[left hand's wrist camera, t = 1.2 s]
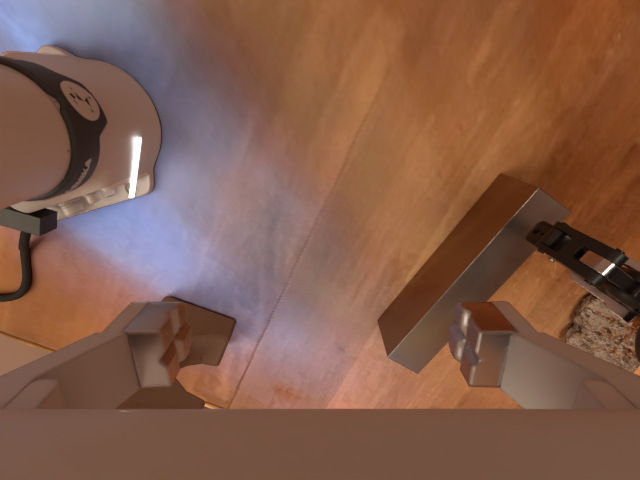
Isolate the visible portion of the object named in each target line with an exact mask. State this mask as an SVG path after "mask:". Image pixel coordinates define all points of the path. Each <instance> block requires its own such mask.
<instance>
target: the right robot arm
mask: <svg viewBox="0 0 640 480" xmlns="http://www.w3.org/2000/svg"><path fill="white" fill-rule="evenodd" d="M526 240H527V241H528V242H529V243H531V244H532V245H534V246H535V247H537V248H538V249H537V250H538V251H539V252H541V253H542V254H544V253H546V255H548V256H549V259H550V260H552V261H553V262H555V261H556V262H558V263H559V264H561V265H562V266H564V267H565V268H567V269H568V270H570V271H571V279H572V280H573V281H574V282H576V283H577V284H578V285H580V286H581V287H583V288H584V289H586V290H587V291H589V292H590V293H591V294H593V295H594V296H596V297H597V298H599V299H600V300H602V301H603V302H604V303H605V304H606V307H607V309H608V310H610V311H611V312H613V313H614V314H615V315H617V316H618V317H620V318H621V319H623V320H624V321H626V322H627V323H628V324H630V323H631V322H633V323H632V326H633V327H634V328H636V329H637V330H638V331H637V333H636V337H635V354H636V357H637V359H638V361H639V363H640V263H638V262H636V261H635V260H633V259H631V258H629V257H628V256H626V255H624V254H625V253H624V252H623V251H621V250H619V249H614V248H612V247H611V246H609V245H605V244H603V243H601V242H599V241H597V240H595V239H593V238H591V237H589V236H587V235H585V234H583V233H581V232H579V231H577V230H575V229H573V228H571V227H569V225H567V224H566V223H564V222H563V223H561V222H559V221H557V222H556V223H555V224H554V225H551V224H549V223H547V222H545V221H541V222H538V223H537V224H536V225H535V226H534V228H533V229H532V230H531V231H530V232H529V233H528V234H527V236H526ZM622 265H625V266H626V267H628V268H625V267H621V266H622ZM629 268H630V269H629Z"/></svg>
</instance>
